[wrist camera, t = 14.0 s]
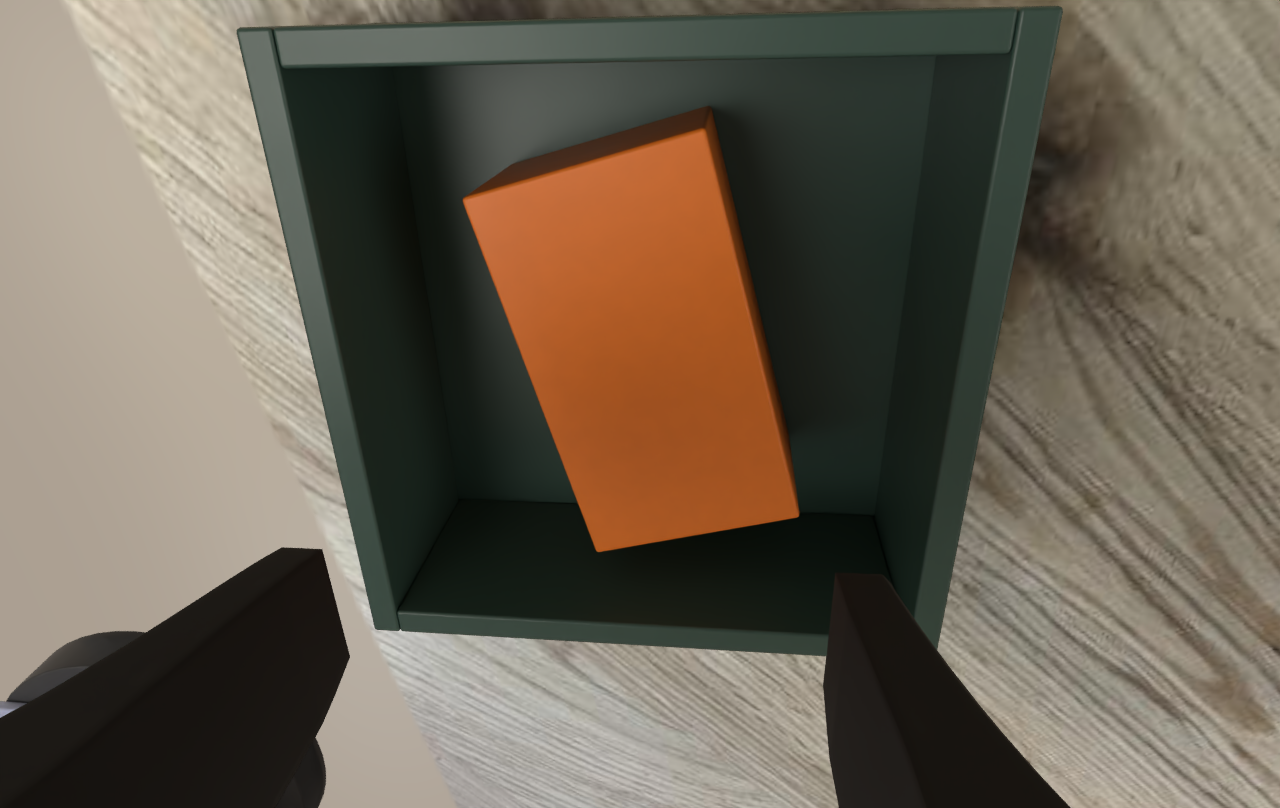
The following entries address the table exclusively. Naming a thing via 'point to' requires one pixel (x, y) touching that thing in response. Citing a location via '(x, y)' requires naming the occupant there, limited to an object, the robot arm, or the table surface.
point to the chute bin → (780, 269)
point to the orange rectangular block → (642, 331)
